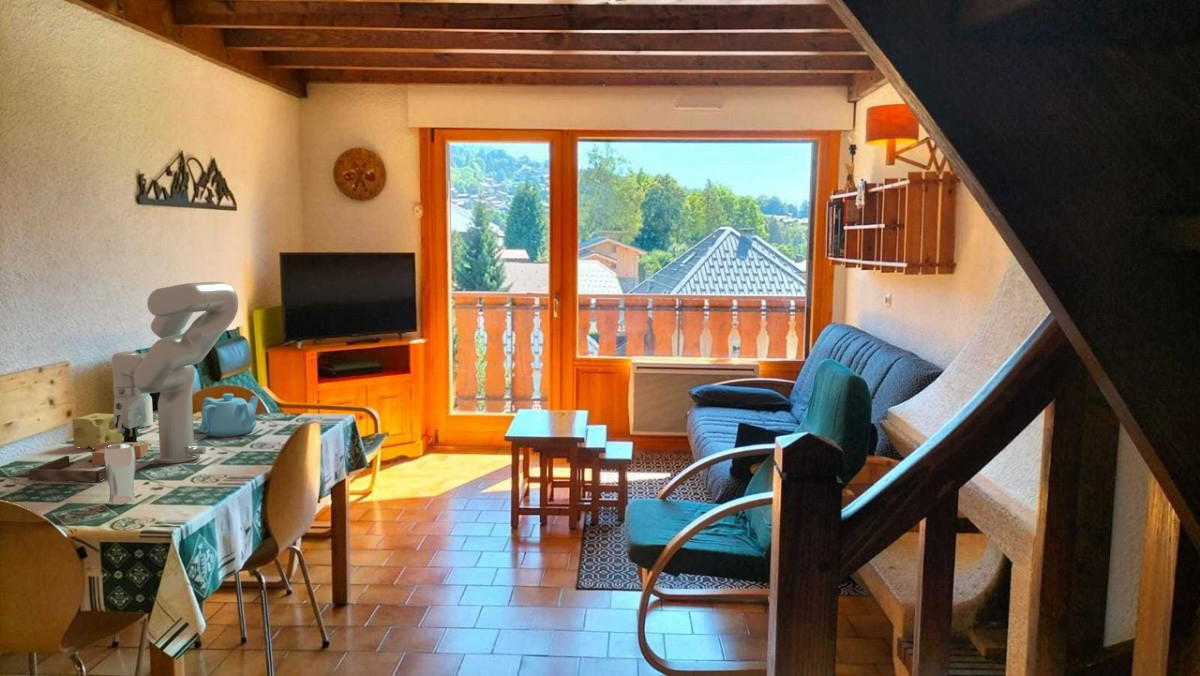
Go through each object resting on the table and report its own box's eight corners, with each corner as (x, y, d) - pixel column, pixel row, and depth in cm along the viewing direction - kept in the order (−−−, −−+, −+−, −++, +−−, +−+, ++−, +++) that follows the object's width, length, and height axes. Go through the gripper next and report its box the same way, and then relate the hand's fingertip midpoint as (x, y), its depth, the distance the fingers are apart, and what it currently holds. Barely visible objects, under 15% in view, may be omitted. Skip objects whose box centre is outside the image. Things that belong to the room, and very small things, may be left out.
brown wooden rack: (132, 467, 246) (131, 457, 245) (99, 482, 230) (98, 471, 230) (66, 465, 246) (65, 455, 246) (29, 480, 231) (28, 470, 230)
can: (131, 425, 300) (130, 392, 299) (153, 423, 303) (152, 391, 302) (130, 429, 294) (128, 396, 292) (152, 427, 297) (150, 394, 295)
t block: (148, 455, 259) (147, 442, 259) (122, 466, 246) (122, 453, 246) (105, 454, 260) (104, 441, 260) (77, 465, 247) (76, 452, 247)
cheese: (100, 450, 264) (98, 420, 263) (71, 448, 267) (69, 418, 265) (124, 442, 275) (123, 413, 273) (97, 440, 277) (95, 411, 276)
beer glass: (143, 498, 216) (140, 442, 215) (128, 507, 210) (125, 449, 208) (116, 498, 216) (113, 442, 214) (100, 506, 209) (97, 449, 208)
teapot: (253, 436, 286) (252, 397, 284) (193, 439, 280) (191, 399, 279) (259, 425, 304) (258, 388, 302) (202, 428, 298) (201, 390, 297)
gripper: (124, 395, 252) (127, 454, 254) (153, 387, 267) (155, 442, 269) (100, 395, 252) (104, 453, 254) (130, 386, 267) (133, 442, 269)
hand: (130, 447), depth 261 cm, fingers closed
